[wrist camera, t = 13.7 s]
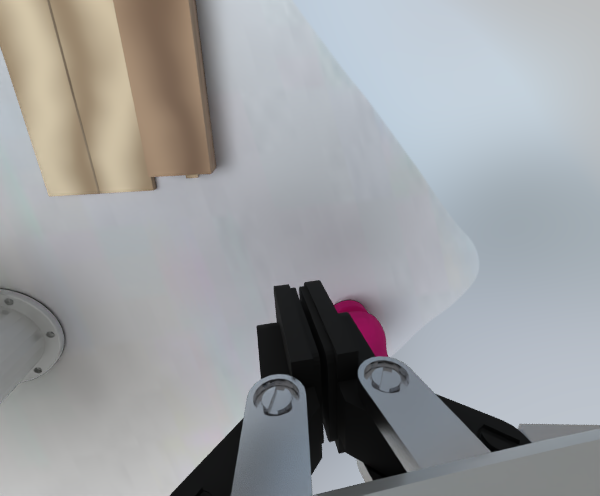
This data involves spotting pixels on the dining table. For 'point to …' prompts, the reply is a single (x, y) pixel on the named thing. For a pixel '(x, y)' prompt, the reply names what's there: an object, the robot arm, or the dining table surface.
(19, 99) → the board
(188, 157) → the brown wooden block
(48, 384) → the dining table surface
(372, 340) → the pepper mill
